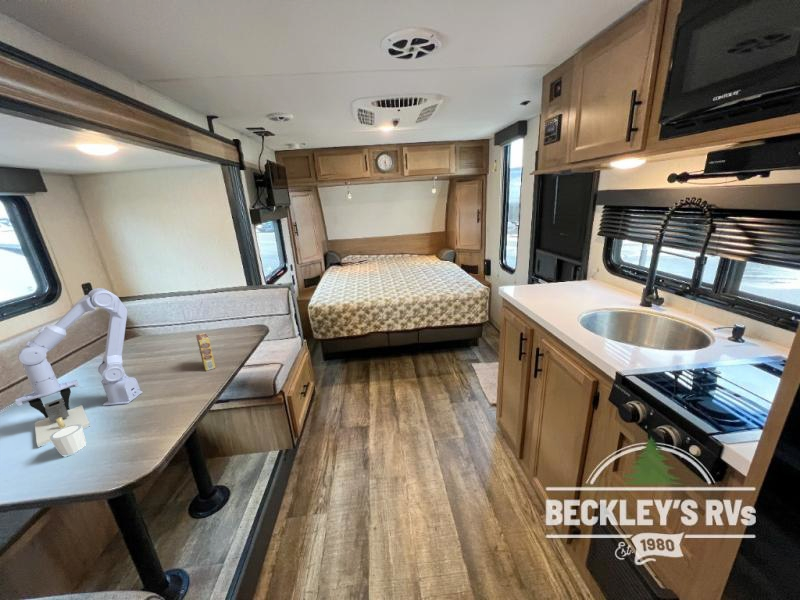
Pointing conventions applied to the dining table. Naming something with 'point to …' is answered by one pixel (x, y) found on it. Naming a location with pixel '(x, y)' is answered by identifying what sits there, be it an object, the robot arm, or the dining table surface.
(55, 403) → the grey hollow block
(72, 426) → the white faceted cup
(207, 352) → the candy box
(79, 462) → the dining table surface
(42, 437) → the housing base
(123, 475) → the dining table surface
